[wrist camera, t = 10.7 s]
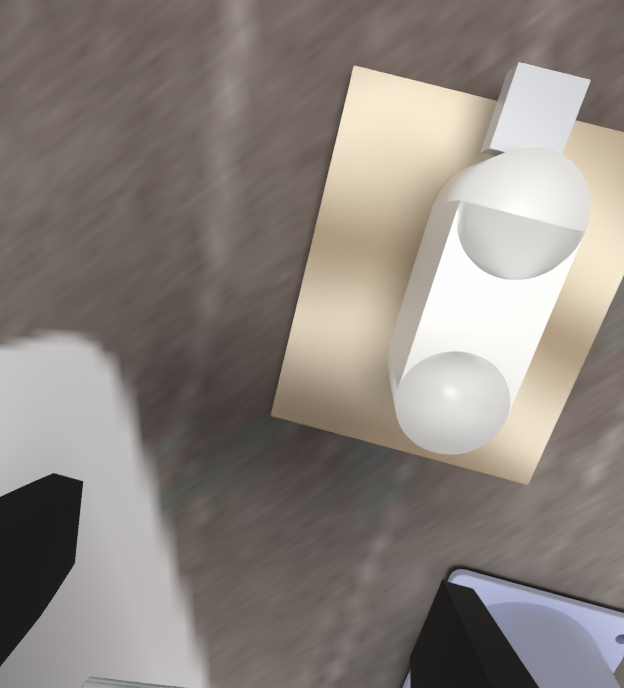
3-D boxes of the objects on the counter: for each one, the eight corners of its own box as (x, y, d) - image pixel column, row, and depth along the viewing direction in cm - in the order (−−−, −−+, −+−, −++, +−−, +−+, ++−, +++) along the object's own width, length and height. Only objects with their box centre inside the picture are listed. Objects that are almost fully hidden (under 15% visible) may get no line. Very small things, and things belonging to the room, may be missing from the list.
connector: (456, 406, 16) (486, 466, 12) (375, 385, 16) (381, 438, 13) (570, 107, 13) (654, 66, 10) (470, 82, 13) (516, 31, 10)
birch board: (519, 470, 18) (527, 484, 17) (275, 404, 18) (270, 415, 17) (660, 150, 14) (681, 147, 13) (354, 75, 15) (354, 65, 14)
